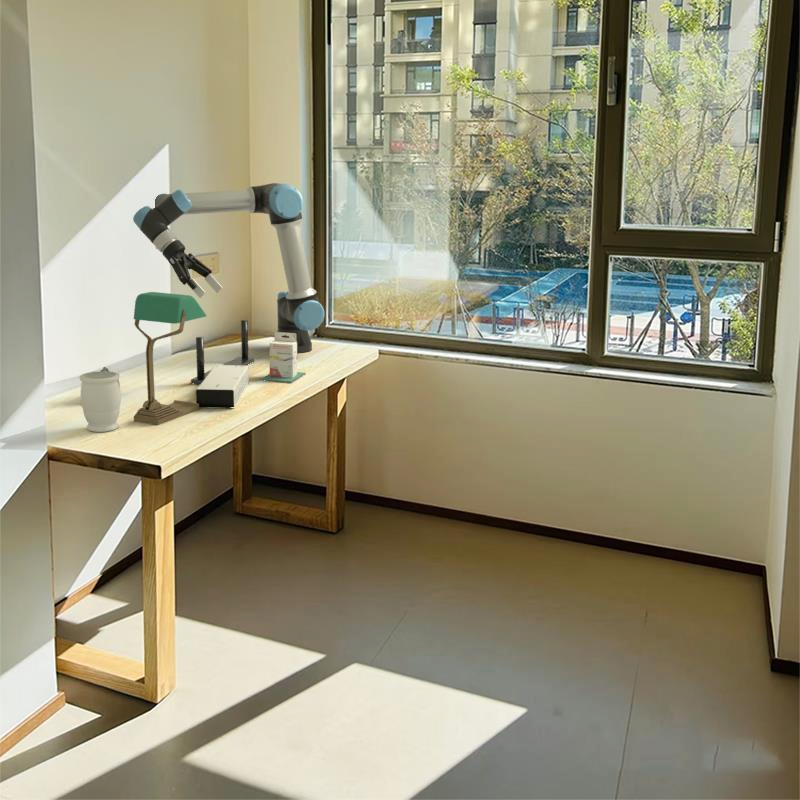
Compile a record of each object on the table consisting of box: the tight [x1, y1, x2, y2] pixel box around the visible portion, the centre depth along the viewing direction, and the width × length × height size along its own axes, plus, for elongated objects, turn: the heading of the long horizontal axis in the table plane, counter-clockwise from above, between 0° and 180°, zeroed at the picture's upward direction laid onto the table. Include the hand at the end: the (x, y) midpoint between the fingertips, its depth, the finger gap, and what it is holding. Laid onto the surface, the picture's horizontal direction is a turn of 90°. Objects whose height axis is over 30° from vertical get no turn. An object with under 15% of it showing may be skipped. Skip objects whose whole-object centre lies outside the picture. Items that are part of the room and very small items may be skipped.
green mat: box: [260, 371, 306, 384], centre depth 318 cm, size 14×11×1 cm
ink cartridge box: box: [269, 331, 298, 378], centre depth 316 cm, size 9×5×15 cm, turn 78°
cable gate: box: [190, 319, 255, 385], centre depth 321 cm, size 38×6×16 cm, turn 166°
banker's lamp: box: [133, 291, 208, 426], centre depth 264 cm, size 16×21×35 cm
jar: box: [79, 370, 122, 433], centre depth 252 cm, size 11×10×15 cm
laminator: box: [195, 364, 250, 407], centre depth 292 cm, size 34×12×6 cm, turn 2°
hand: (211, 292), depth 317 cm, fingers open, 13 cm apart
